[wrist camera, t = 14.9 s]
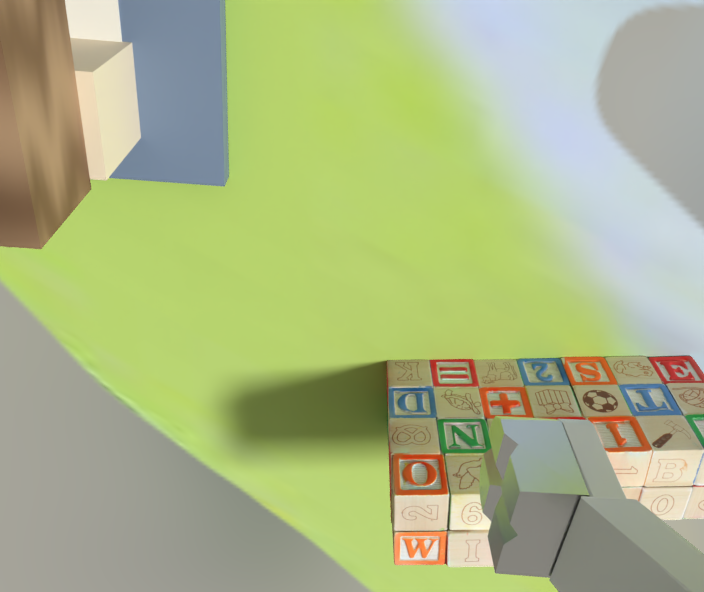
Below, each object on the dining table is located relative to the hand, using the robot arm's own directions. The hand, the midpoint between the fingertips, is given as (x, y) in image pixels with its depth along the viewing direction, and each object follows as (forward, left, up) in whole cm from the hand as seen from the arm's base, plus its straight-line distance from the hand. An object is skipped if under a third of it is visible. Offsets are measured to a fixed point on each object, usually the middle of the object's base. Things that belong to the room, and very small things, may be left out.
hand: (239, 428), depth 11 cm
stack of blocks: (+23, +17, -30) cm, 41 cm away
